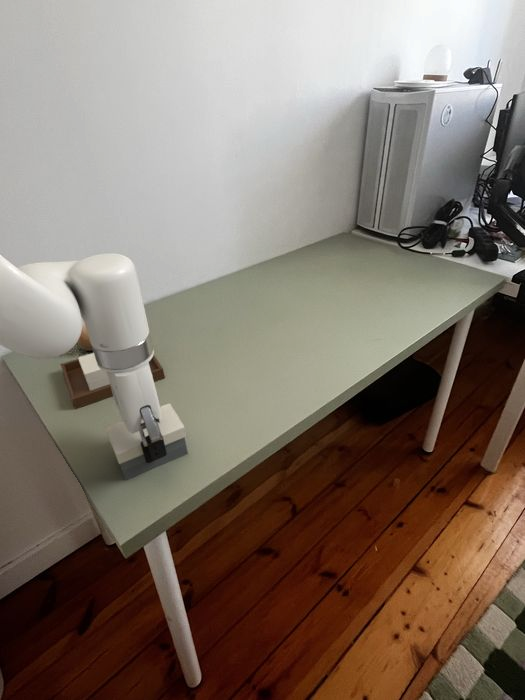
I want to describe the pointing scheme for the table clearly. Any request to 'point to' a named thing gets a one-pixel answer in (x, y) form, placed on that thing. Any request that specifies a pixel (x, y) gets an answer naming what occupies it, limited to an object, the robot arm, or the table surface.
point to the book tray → (85, 396)
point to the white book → (130, 444)
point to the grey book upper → (141, 458)
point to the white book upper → (91, 368)
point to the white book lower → (98, 383)
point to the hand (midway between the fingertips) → (148, 442)
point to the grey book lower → (154, 462)
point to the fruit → (84, 338)
